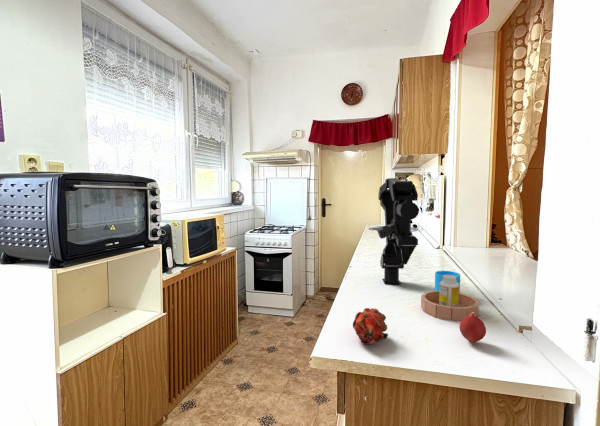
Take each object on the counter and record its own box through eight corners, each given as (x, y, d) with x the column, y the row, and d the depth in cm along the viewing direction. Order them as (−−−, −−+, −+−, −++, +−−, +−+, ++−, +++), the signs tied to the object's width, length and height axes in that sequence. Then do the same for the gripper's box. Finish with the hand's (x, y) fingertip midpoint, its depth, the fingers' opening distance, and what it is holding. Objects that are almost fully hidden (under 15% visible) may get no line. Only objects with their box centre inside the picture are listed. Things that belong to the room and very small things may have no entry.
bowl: (415, 301, 109) (416, 290, 109) (464, 302, 107) (465, 290, 107) (430, 320, 93) (430, 307, 93) (488, 322, 92) (488, 308, 91)
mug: (460, 301, 109) (461, 277, 108) (434, 298, 112) (434, 275, 111) (458, 290, 120) (458, 269, 119) (434, 288, 123) (435, 267, 122)
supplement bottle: (458, 306, 102) (459, 275, 101) (458, 312, 97) (459, 279, 96) (439, 303, 104) (440, 273, 103) (438, 309, 99) (439, 277, 98)
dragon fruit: (374, 334, 88) (371, 363, 77) (349, 315, 89) (342, 341, 78) (393, 314, 85) (392, 340, 74) (367, 294, 86) (362, 318, 75)
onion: (454, 338, 82) (455, 308, 82) (475, 337, 83) (476, 307, 82) (468, 349, 76) (468, 317, 76) (490, 348, 77) (491, 316, 76)
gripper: (374, 214, 121) (374, 255, 122) (383, 219, 102) (382, 267, 104) (404, 214, 120) (404, 255, 121) (418, 219, 101) (418, 267, 103)
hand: (401, 261), depth 112 cm, fingers open, 9 cm apart
